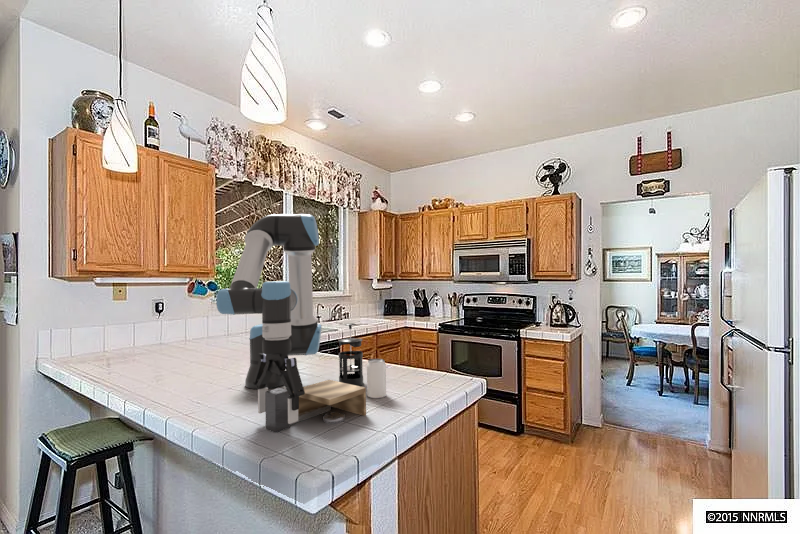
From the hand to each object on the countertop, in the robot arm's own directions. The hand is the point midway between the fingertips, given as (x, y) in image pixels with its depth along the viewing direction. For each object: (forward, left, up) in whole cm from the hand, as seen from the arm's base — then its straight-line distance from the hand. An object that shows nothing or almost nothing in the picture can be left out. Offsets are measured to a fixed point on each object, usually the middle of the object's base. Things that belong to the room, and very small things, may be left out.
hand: (277, 417), depth 109 cm
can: (+2, +38, -3) cm, 38 cm away
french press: (-15, +43, -3) cm, 45 cm away
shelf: (+4, +15, -3) cm, 16 cm away
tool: (0, +8, -3) cm, 9 cm away
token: (+7, +14, -3) cm, 16 cm away
